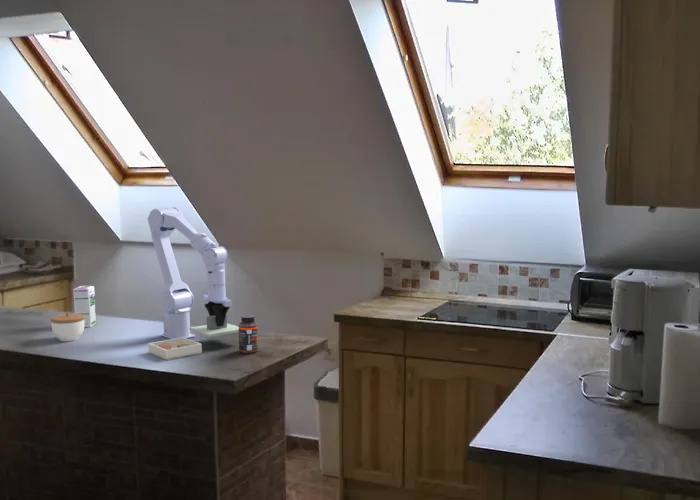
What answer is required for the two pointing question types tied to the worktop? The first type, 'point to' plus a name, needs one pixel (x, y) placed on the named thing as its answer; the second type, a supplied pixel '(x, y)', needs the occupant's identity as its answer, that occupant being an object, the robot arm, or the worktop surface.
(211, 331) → the lid
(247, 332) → the supplement bottle
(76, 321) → the lidded jar
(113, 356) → the worktop surface
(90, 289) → the syrup box
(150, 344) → the storage box
